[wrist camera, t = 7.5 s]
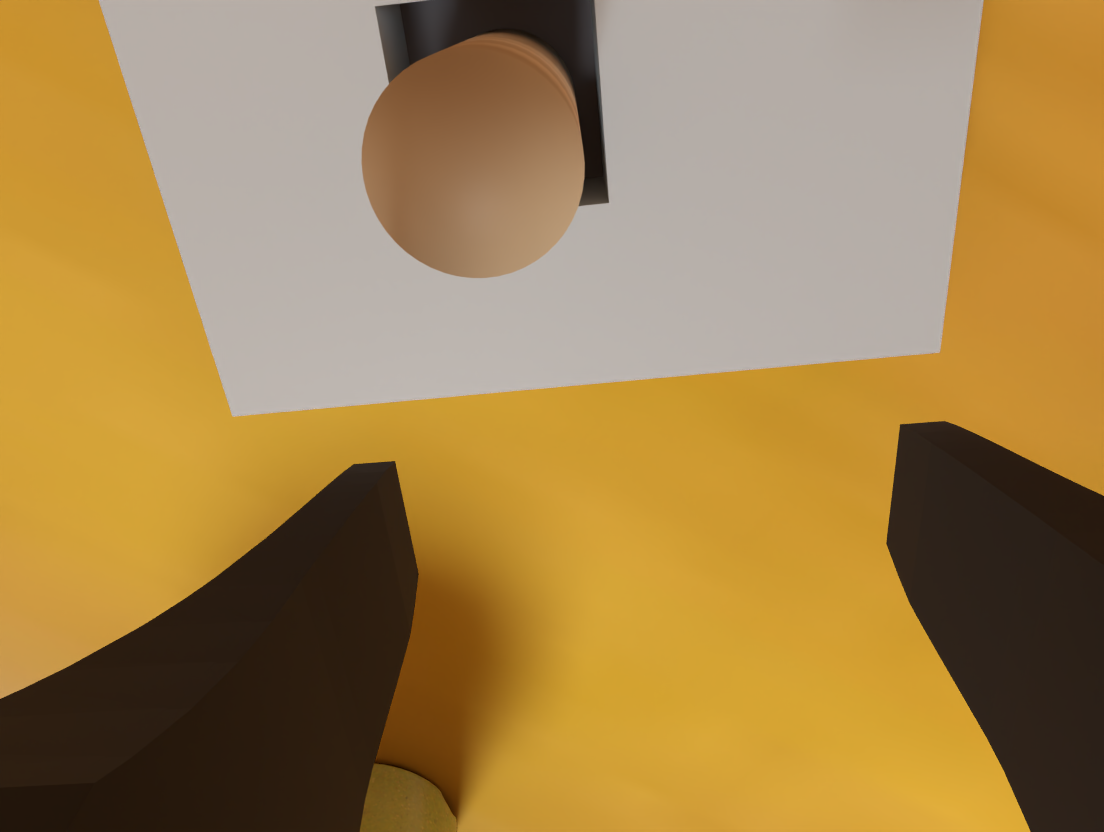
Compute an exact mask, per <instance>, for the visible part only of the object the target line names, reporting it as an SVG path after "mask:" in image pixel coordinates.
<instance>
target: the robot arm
mask: <svg viewBox="0 0 1104 832" xmlns="http://www.w3.org/2000/svg"><path fill="white" fill-rule="evenodd" d="M886 544H887V547H888V549H889V552H890V555H891V557H892V560H893V563H894V565H895V568H896V571H897V573H898V576H899V578H900V581H901V583H902V586H903V588H904V591H905V593H906V595H907V598H908V600H909V603H910V605H911V606H912V608H913V610H914V612H915V614H916V616H917V617H918V619H919V621H920V623H921V624H922V626H923V628H924V630H925V632H926V633H927V635H928V637H929V639H930V640H931V642H932V644H933V646H934V647H935V649H936V651H937V653H938V654H939V656H940V658H941V660H942V661H943V663H944V665H945V666H946V668H947V670H948V672H949V673H950V675H951V677H952V679H953V680H954V682H955V684H956V685H957V687H958V689H959V691H960V692H961V694H962V696H963V698H964V699H965V701H966V703H967V704H968V706H969V708H970V710H971V711H972V713H973V715H974V717H975V718H976V720H977V722H978V723H979V725H980V727H981V729H982V730H983V732H984V734H985V736H986V737H987V739H988V741H989V743H990V745H991V747H992V749H993V751H994V753H995V755H996V756H997V758H998V760H999V762H1000V764H1001V766H1002V768H1003V770H1004V772H1005V774H1006V777H1007V779H1008V781H1009V783H1010V786H1011V788H1012V790H1013V793H1014V795H1015V797H1016V799H1017V802H1018V804H1019V806H1020V808H1021V811H1022V813H1023V815H1024V817H1025V820H1026V822H1027V824H1028V826H1029V829H1030V831H1031V832H1104V496H1103V495H1101V494H1098V493H1096V492H1094V491H1092V490H1090V489H1088V488H1085V487H1083V486H1081V485H1079V484H1077V483H1075V482H1073V481H1071V480H1069V479H1067V478H1064V477H1062V476H1060V475H1058V474H1056V473H1054V472H1052V471H1050V470H1048V469H1046V468H1044V467H1042V466H1040V465H1038V464H1036V463H1034V462H1032V461H1030V460H1028V459H1026V458H1024V457H1022V456H1020V455H1018V454H1016V453H1014V452H1012V451H1010V450H1008V449H1006V448H1004V447H1002V446H1000V445H998V444H996V443H994V442H992V441H990V440H987V439H985V438H983V437H981V436H979V435H977V434H975V433H973V432H970V431H968V430H966V429H964V428H961V427H959V426H957V425H954V424H951V423H949V422H946V421H941V422H927V423H913V424H900V431H899V440H898V448H897V457H896V466H895V474H894V483H893V491H892V500H891V508H890V517H889V526H888V534H887V543H886ZM417 583H418V569H417V564H416V559H415V555H414V550H413V545H412V540H411V536H410V531H409V526H408V521H407V517H406V512H405V507H404V502H403V497H402V493H401V488H400V483H399V478H398V474H397V469H396V464H395V461H392V462H378V463H364V464H354V465H352V466H351V467H349V468H348V469H347V470H345V471H344V472H343V473H342V474H340V475H339V476H338V477H337V478H336V479H334V480H333V481H332V482H331V483H330V484H329V485H327V486H326V487H325V488H324V489H323V490H322V491H320V492H319V493H318V494H317V495H316V496H315V497H314V498H312V499H311V500H310V501H309V502H308V503H307V504H306V505H304V506H303V507H302V508H301V509H300V510H299V511H297V512H296V513H295V514H294V515H293V516H292V517H290V518H289V519H288V520H287V521H286V522H285V523H283V524H282V525H281V526H280V527H279V528H278V529H276V530H275V531H274V532H273V533H272V534H270V535H269V536H268V537H267V538H266V539H264V540H263V541H262V542H260V543H259V544H258V545H257V546H255V547H254V548H253V549H251V550H250V551H249V552H248V553H246V554H245V555H244V556H242V557H241V558H240V559H239V560H237V561H236V562H235V563H233V564H232V565H231V566H230V567H228V568H227V569H226V570H224V571H223V572H222V573H221V574H219V575H218V576H217V577H215V578H214V579H212V580H211V581H210V582H208V583H207V584H206V585H204V586H203V587H201V588H200V589H198V590H197V591H195V592H194V593H193V594H191V595H190V596H188V597H187V598H185V599H184V600H182V601H181V602H179V603H177V604H176V605H174V606H173V607H171V608H170V609H168V610H167V611H165V612H163V613H162V614H160V615H159V616H157V617H156V618H154V619H153V620H151V621H149V622H148V623H146V624H144V625H143V626H141V627H139V628H138V629H136V630H134V631H132V632H130V633H129V634H127V635H125V636H123V637H121V638H119V639H118V640H116V641H114V642H112V643H110V644H109V645H107V646H105V647H103V648H101V649H100V650H98V651H96V652H94V653H92V654H91V655H89V656H87V657H85V658H83V659H81V660H80V661H78V662H76V663H74V664H72V665H70V666H69V667H67V668H65V669H63V670H61V671H59V672H57V673H55V674H52V675H50V676H48V677H46V678H44V679H42V680H40V681H38V682H36V683H34V684H32V685H30V686H28V687H26V688H24V689H21V690H19V691H17V692H15V693H13V694H10V695H8V696H6V697H4V698H1V699H0V832H360V827H361V821H362V815H363V809H364V804H365V799H366V794H367V790H368V786H369V782H370V777H371V773H372V769H373V765H374V762H375V758H376V755H377V751H378V748H379V744H380V741H381V737H382V734H383V730H384V727H385V723H386V720H387V716H388V713H389V709H390V706H391V702H392V699H393V695H394V692H395V688H396V685H397V681H398V678H399V674H400V670H401V667H402V663H403V659H404V656H405V652H406V649H407V645H408V641H409V637H410V634H411V627H412V620H413V613H414V607H415V599H416V591H417Z"/></svg>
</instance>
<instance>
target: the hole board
mask: <svg viewBox="0 0 1104 832" xmlns="http://www.w3.org/2000/svg"><path fill="white" fill-rule="evenodd" d="M99 2H100V5H101V9H102V12H103V15H104V18H105V21H106V24H107V27H108V30H109V33H110V37H111V40H112V43H113V46H114V49H115V52H116V55H117V58H118V61H119V65H120V68H121V71H122V74H123V77H124V80H125V83H126V86H127V89H128V93H129V96H130V99H131V102H132V105H133V108H134V111H135V114H136V117H137V121H138V124H139V127H140V130H141V133H142V136H143V139H144V142H145V145H146V149H147V152H148V155H149V158H150V161H151V164H152V167H153V170H154V173H155V177H156V180H157V183H158V186H159V189H160V192H161V195H162V198H163V201H164V205H165V208H166V211H167V214H168V217H169V220H170V223H171V226H172V229H173V233H174V236H175V239H176V242H177V245H178V248H179V251H180V254H181V257H182V261H183V264H184V267H185V270H186V273H187V276H188V279H189V282H190V285H191V289H192V292H193V295H194V298H195V301H196V304H197V307H198V310H199V313H200V317H201V320H202V323H203V326H204V329H205V332H206V335H207V338H208V341H209V345H210V348H211V351H212V354H213V357H214V360H215V363H216V366H217V369H218V373H219V376H220V379H221V382H222V385H223V388H224V391H225V394H226V397H227V401H228V404H229V407H230V410H231V413H232V416H243V415H254V414H265V413H276V412H287V411H298V410H309V409H321V408H332V407H343V406H354V405H365V404H376V403H387V402H398V401H409V400H420V399H431V398H442V397H453V396H464V395H475V394H486V393H497V392H508V391H519V390H530V389H541V388H552V387H563V386H574V385H585V384H597V383H608V382H619V381H630V380H641V379H652V378H663V377H674V376H685V375H696V374H707V373H718V372H729V371H740V370H751V369H762V368H773V367H784V366H795V365H806V364H817V363H828V362H839V361H850V360H861V359H873V358H884V357H895V356H906V355H917V354H928V353H939V352H940V347H941V339H942V331H943V323H944V315H945V307H946V299H947V291H948V283H949V275H950V267H951V259H952V250H953V242H954V234H955V226H956V218H957V210H958V202H959V194H960V186H961V178H962V170H963V161H964V153H965V145H966V137H967V129H968V121H969V113H970V105H971V97H972V89H973V81H974V72H975V64H976V56H977V48H978V40H979V32H980V24H981V16H982V8H983V0H99ZM497 29H516V30H521V31H525V32H528V33H530V34H533V35H535V36H537V37H539V38H540V39H542V40H543V41H545V42H546V43H547V44H549V45H550V46H551V47H552V48H553V49H554V50H555V51H556V52H557V53H558V54H559V56H560V57H561V58H562V60H563V61H564V63H565V65H566V67H567V69H568V70H569V73H570V76H571V78H572V81H573V86H574V90H575V97H576V104H577V111H578V117H579V124H580V131H581V138H582V145H583V153H584V162H585V171H584V184H583V191H582V195H581V199H580V202H579V206H578V209H577V211H576V213H575V216H574V218H573V220H572V222H571V224H570V225H569V227H568V229H567V230H566V232H565V233H564V235H563V236H562V237H561V238H560V240H559V241H558V242H557V243H556V244H555V245H554V246H553V247H552V248H551V249H550V250H549V251H548V252H547V253H546V254H545V255H543V256H542V257H541V258H539V259H538V260H537V261H535V262H534V263H532V264H530V265H528V266H526V267H525V268H522V269H520V270H517V271H515V272H513V273H509V274H505V275H502V276H497V277H489V278H467V277H459V276H454V275H450V274H447V273H443V272H441V271H438V270H436V269H433V268H431V267H429V266H427V265H425V264H423V263H421V262H419V261H418V260H416V259H415V258H414V257H412V256H411V255H409V254H408V253H407V252H406V251H404V250H403V249H402V248H401V247H400V246H399V245H398V244H397V243H396V242H395V241H394V240H393V239H392V238H391V236H390V235H389V234H388V233H387V232H386V230H385V229H384V227H383V226H382V224H381V223H380V221H379V220H378V218H377V216H376V214H375V212H374V210H373V208H372V206H371V204H370V201H369V198H368V195H367V193H366V189H365V184H364V180H363V173H362V164H361V161H362V143H363V137H364V132H365V128H366V125H367V121H368V118H369V116H370V114H371V111H372V109H373V107H374V105H375V103H376V101H377V100H378V98H379V97H380V95H381V93H382V92H383V91H384V89H385V88H386V87H387V86H388V85H389V83H390V82H391V81H392V80H393V79H394V78H395V77H396V76H398V75H399V74H400V73H401V72H402V71H403V70H404V69H406V68H408V67H409V66H411V65H412V64H414V63H415V62H417V61H419V60H421V59H423V58H425V57H427V56H430V55H432V54H434V53H437V52H439V51H441V50H444V49H446V48H449V47H451V46H453V45H456V44H458V43H460V42H463V41H465V40H468V39H470V38H472V37H475V36H477V35H479V34H482V33H484V32H488V31H491V30H497Z"/></svg>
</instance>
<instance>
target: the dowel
mask: <svg viewBox="0 0 1104 832" xmlns="http://www.w3.org/2000/svg"><path fill="white" fill-rule="evenodd" d="M361 164H362V173H363V180H364V184H365V189H366V193H367V195H368V198H369V201H370V204H371V206H372V208H373V210H374V212H375V214H376V216H377V218H378V220H379V221H380V223H381V224H382V226H383V227H384V229H385V230H386V232H387V233H388V234H389V235H390V236H391V238H392V239H393V240H394V241H395V242H396V243H397V244H398V245H399V246H400V247H401V248H402V249H403V250H404V251H406V252H407V253H408V254H409V255H411V256H412V257H414V258H415V259H416V260H418V261H419V262H421V263H423V264H425V265H427V266H429V267H431V268H433V269H436V270H438V271H441V272H443V273H447V274H450V275H454V276H459V277H467V278H489V277H497V276H502V275H505V274H509V273H513V272H515V271H517V270H520V269H522V268H525V267H526V266H528V265H530V264H532V263H534V262H535V261H537V260H538V259H539V258H541V257H542V256H543V255H545V254H546V253H547V252H548V251H549V250H550V249H551V248H552V247H553V246H554V245H555V244H556V243H557V242H558V241H559V240H560V238H561V237H562V236H563V235H564V233H565V232H566V230H567V229H568V227H569V225H570V224H571V222H572V220H573V218H574V216H575V213H576V211H577V209H578V206H579V202H580V199H581V195H582V191H583V184H584V171H585V162H584V153H583V145H582V138H581V131H580V124H579V117H578V111H577V104H576V97H575V90H574V86H573V81H572V78H571V76H570V73H569V70H568V69H567V67H566V65H565V63H564V61H563V60H562V58H561V57H560V56H559V54H558V53H557V52H556V51H555V50H554V49H553V48H552V47H551V46H550V45H549V44H547V43H546V42H545V41H543V40H542V39H540V38H539V37H537V36H535V35H533V34H530V33H528V32H525V31H521V30H516V29H497V30H491V31H488V32H484V33H482V34H479V35H477V36H475V37H472V38H470V39H468V40H465V41H463V42H460V43H458V44H456V45H453V46H451V47H449V48H446V49H444V50H441V51H439V52H437V53H434V54H432V55H430V56H427V57H425V58H423V59H421V60H419V61H417V62H415V63H414V64H412V65H411V66H409V67H408V68H406V69H404V70H403V71H402V72H401V73H400V74H399V75H398V76H396V77H395V78H394V79H393V80H392V81H391V82H390V83H389V85H388V86H387V87H386V88H385V89H384V91H383V92H382V93H381V95H380V97H379V98H378V100H377V101H376V103H375V105H374V107H373V109H372V111H371V114H370V116H369V118H368V121H367V125H366V128H365V132H364V137H363V143H362V161H361Z"/></svg>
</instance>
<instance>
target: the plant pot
mask: <svg viewBox="0 0 1104 832" xmlns="http://www.w3.org/2000/svg"><path fill="white" fill-rule="evenodd" d="M360 832H457V821H456V817H455V816H454V815H453V814H452V812H451V810H450V808H449V807H448V805H447V803H446V801H445V800H444V798H443V796H442V793H441V791H440V790H439V789H438V788H437V787H436V786H435V785H433V784H432V783H431V782H429V781H428V780H426V779H424V778H423V777H421V776H419V775H416V774H414V773H412V772H410V771H407V770H404V769H401V768H397V767H393V766H389V765H384V764H374V765H373V769H372V773H371V777H370V782H369V786H368V790H367V794H366V799H365V804H364V809H363V815H362V821H361V827H360Z"/></svg>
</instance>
